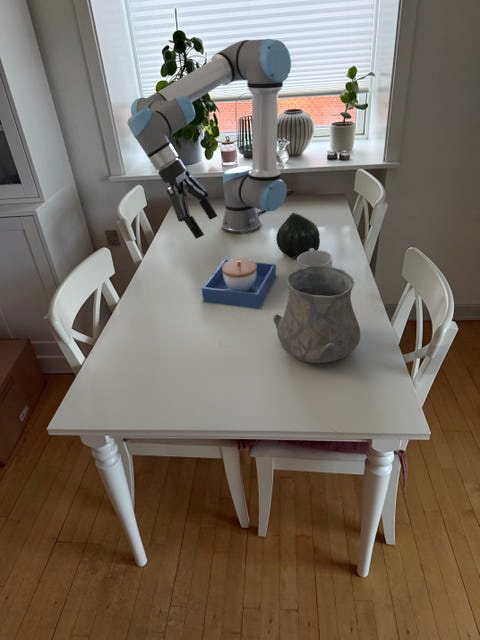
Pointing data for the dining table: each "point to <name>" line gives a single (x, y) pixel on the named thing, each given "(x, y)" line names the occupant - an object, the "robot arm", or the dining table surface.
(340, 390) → the dining table surface
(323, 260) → the teacup
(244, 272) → the trinket box
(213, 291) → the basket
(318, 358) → the vessel
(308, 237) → the squash
